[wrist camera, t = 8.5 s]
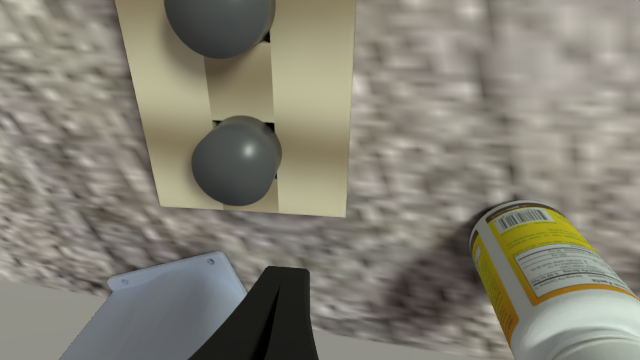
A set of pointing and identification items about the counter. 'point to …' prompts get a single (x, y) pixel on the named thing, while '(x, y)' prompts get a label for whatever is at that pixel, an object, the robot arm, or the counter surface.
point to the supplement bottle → (552, 287)
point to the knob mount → (249, 101)
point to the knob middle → (220, 24)
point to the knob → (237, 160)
